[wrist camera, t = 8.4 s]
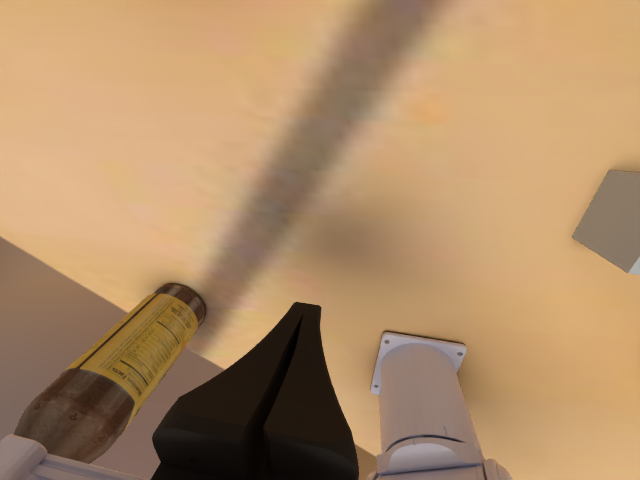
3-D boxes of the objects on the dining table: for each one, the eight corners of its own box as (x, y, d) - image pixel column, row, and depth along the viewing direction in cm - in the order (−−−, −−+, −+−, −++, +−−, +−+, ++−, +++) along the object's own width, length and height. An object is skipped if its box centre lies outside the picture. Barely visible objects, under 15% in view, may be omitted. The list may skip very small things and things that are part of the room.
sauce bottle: (168, 323, 32) (-81, 593, 14) (148, 280, 29) (-190, 548, 11) (216, 326, 30) (11, 624, 13) (201, 281, 28) (-88, 582, 10)
